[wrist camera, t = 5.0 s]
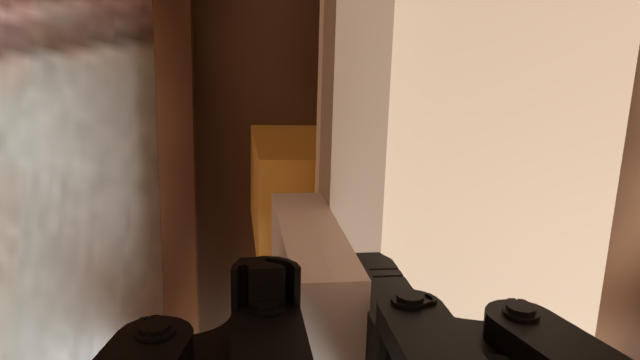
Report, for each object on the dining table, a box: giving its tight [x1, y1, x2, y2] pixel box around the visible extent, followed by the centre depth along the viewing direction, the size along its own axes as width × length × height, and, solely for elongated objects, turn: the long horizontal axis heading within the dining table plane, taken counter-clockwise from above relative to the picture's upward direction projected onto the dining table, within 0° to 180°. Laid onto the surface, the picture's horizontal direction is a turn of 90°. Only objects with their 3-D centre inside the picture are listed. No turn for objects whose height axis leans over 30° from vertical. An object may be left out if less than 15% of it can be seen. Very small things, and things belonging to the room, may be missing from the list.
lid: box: [315, 0, 640, 337], centre depth 18 cm, size 10×22×3 cm, turn 178°
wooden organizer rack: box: [152, 0, 640, 360], centre depth 25 cm, size 30×22×10 cm
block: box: [251, 125, 317, 257], centre depth 23 cm, size 4×4×8 cm
